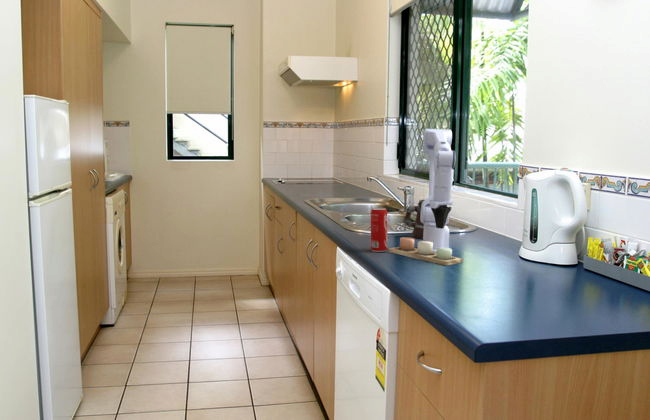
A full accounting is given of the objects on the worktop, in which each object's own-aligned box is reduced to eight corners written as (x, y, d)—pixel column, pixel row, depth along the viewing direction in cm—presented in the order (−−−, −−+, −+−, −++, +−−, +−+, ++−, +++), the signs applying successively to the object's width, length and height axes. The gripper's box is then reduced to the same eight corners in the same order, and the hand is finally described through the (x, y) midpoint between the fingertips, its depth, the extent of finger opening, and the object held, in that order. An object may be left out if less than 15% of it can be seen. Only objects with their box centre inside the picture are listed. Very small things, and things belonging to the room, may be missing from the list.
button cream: (423, 250, 211) (424, 240, 210) (435, 253, 207) (436, 242, 207) (414, 252, 207) (414, 241, 207) (425, 254, 204) (426, 244, 203)
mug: (436, 235, 254) (438, 199, 252) (445, 240, 242) (448, 202, 240) (399, 234, 252) (401, 198, 250) (407, 239, 240) (409, 201, 238)
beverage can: (386, 253, 211) (388, 210, 209) (367, 251, 212) (369, 208, 211) (388, 250, 217) (390, 208, 215) (369, 248, 218) (372, 206, 216)
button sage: (442, 257, 205) (443, 247, 204) (454, 260, 201) (455, 249, 201) (432, 259, 202) (433, 248, 201) (445, 261, 198) (445, 251, 197)
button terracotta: (406, 246, 217) (406, 236, 216) (417, 249, 213) (417, 239, 213) (396, 248, 213) (397, 238, 213) (407, 250, 210) (408, 240, 209)
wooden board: (405, 249, 220) (405, 246, 220) (463, 262, 201) (463, 258, 201) (388, 251, 214) (388, 248, 214) (446, 265, 195) (446, 261, 195)
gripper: (440, 185, 210) (437, 224, 212) (422, 187, 198) (419, 228, 200) (459, 186, 206) (456, 226, 208) (442, 189, 194) (439, 231, 196)
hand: (439, 228), depth 204 cm, fingers closed
